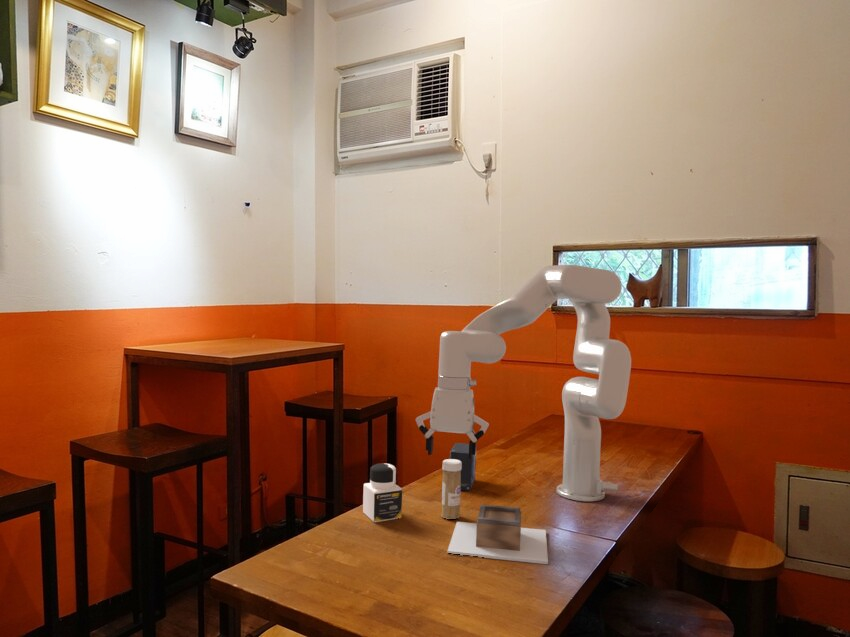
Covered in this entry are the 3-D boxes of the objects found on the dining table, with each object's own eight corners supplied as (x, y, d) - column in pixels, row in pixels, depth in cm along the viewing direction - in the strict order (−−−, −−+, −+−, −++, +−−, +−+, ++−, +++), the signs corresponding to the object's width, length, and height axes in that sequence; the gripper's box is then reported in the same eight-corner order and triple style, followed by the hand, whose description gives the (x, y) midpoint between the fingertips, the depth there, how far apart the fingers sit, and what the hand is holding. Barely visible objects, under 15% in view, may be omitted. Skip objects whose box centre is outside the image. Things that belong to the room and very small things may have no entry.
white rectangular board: (545, 532, 130) (545, 529, 130) (547, 564, 115) (547, 561, 115) (456, 524, 134) (456, 521, 134) (447, 553, 118) (447, 550, 118)
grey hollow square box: (520, 533, 128) (521, 507, 128) (519, 551, 119) (520, 523, 119) (479, 529, 129) (480, 503, 129) (475, 546, 120) (476, 518, 120)
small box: (471, 491, 157) (472, 453, 156) (447, 489, 158) (448, 451, 158) (476, 479, 167) (477, 443, 167) (453, 478, 168) (454, 442, 168)
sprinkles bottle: (456, 521, 135) (458, 464, 135) (438, 518, 137) (439, 462, 136) (462, 515, 139) (464, 459, 139) (444, 512, 141) (446, 457, 141)
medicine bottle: (373, 523, 133) (375, 471, 133) (362, 512, 139) (363, 463, 139) (402, 518, 136) (403, 467, 136) (389, 508, 143) (390, 459, 142)
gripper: (491, 384, 139) (488, 455, 139) (420, 379, 142) (417, 448, 143) (489, 388, 132) (485, 463, 132) (414, 383, 135) (411, 456, 135)
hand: (450, 455), depth 137 cm, fingers open, 9 cm apart
